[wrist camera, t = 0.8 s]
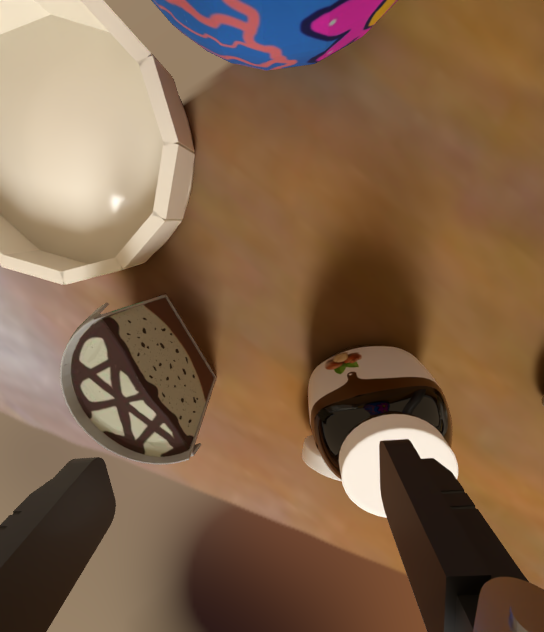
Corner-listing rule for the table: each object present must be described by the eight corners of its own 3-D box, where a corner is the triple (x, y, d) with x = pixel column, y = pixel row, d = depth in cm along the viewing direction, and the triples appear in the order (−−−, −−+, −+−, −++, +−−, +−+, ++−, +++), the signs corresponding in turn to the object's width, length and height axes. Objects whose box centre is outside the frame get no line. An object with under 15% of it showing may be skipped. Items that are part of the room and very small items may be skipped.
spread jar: (408, 330, 28) (481, 404, 17) (426, 434, 31) (499, 554, 20) (279, 360, 30) (269, 445, 19) (308, 455, 33) (315, 577, 22)
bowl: (46, -63, 22) (-14, -130, 17) (243, 155, 25) (232, 143, 21) (-74, 154, 26) (-144, 142, 22) (103, 312, 30) (72, 328, 26)
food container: (103, 307, 30) (12, 351, 20) (157, 279, 28) (87, 311, 19) (172, 411, 33) (121, 492, 23) (224, 389, 31) (192, 465, 22)
